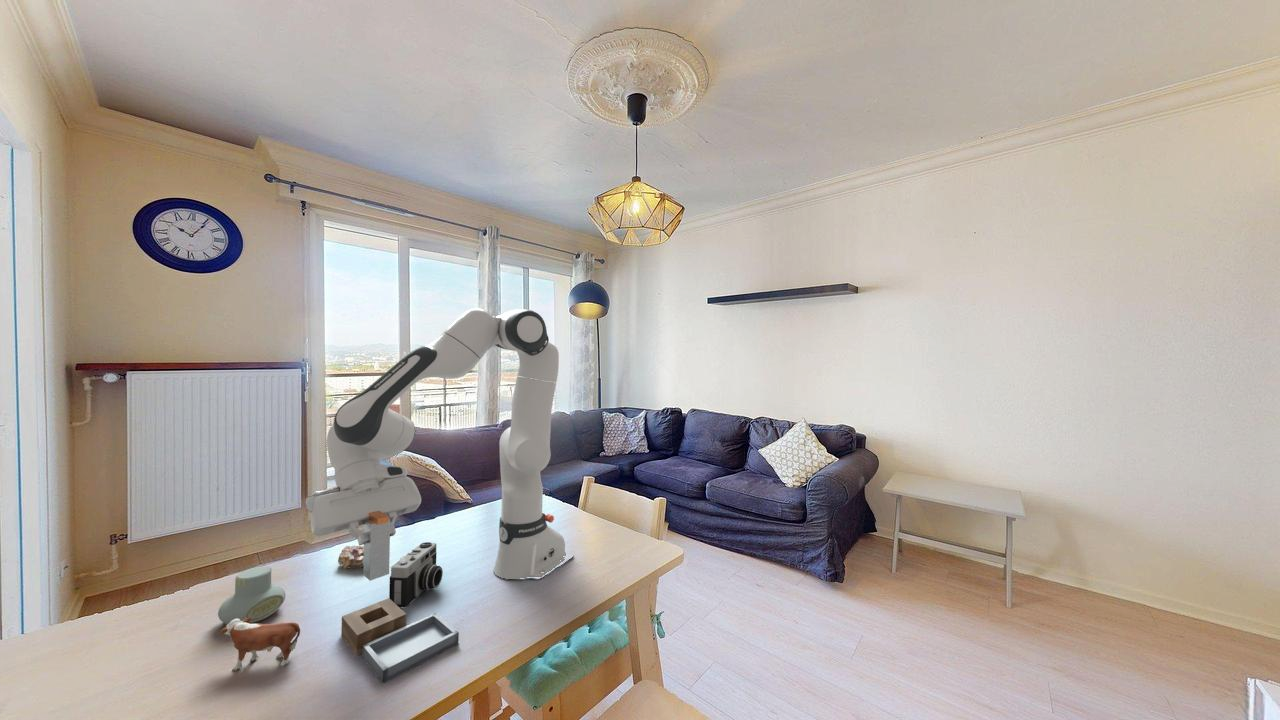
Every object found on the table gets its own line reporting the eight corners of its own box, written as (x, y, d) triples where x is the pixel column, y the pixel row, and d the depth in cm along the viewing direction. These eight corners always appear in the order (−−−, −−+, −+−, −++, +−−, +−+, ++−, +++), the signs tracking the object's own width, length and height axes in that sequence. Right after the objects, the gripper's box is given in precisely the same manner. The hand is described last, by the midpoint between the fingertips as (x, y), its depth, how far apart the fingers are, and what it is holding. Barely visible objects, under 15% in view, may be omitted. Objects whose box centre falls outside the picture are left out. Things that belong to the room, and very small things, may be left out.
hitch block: (388, 615, 95) (389, 597, 95) (405, 632, 89) (406, 614, 89) (341, 635, 88) (341, 616, 88) (356, 655, 82) (357, 635, 82)
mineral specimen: (391, 548, 124) (389, 533, 121) (385, 572, 118) (383, 557, 114) (343, 553, 120) (339, 537, 117) (334, 578, 114) (331, 563, 110)
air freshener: (233, 637, 86) (234, 588, 86) (209, 627, 89) (210, 580, 89) (292, 608, 97) (293, 564, 97) (269, 600, 99) (270, 557, 99)
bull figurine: (230, 655, 81) (231, 613, 81) (304, 653, 82) (305, 611, 82) (209, 672, 77) (210, 628, 77) (288, 670, 78) (289, 626, 78)
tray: (435, 623, 92) (435, 612, 92) (458, 643, 86) (458, 632, 86) (362, 657, 81) (362, 645, 81) (382, 683, 75) (383, 670, 75)
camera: (417, 610, 97) (416, 567, 97) (382, 607, 98) (382, 564, 98) (454, 580, 110) (453, 541, 110) (423, 577, 112) (422, 539, 112)
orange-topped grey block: (380, 566, 92) (381, 508, 92) (391, 575, 88) (392, 515, 88) (361, 572, 89) (362, 512, 89) (372, 582, 85) (373, 520, 85)
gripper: (306, 485, 84) (320, 548, 78) (413, 466, 100) (432, 517, 94) (300, 502, 87) (313, 565, 81) (405, 481, 103) (422, 531, 97)
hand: (378, 539), depth 88 cm, fingers closed on orange-topped grey block, 4 cm apart
